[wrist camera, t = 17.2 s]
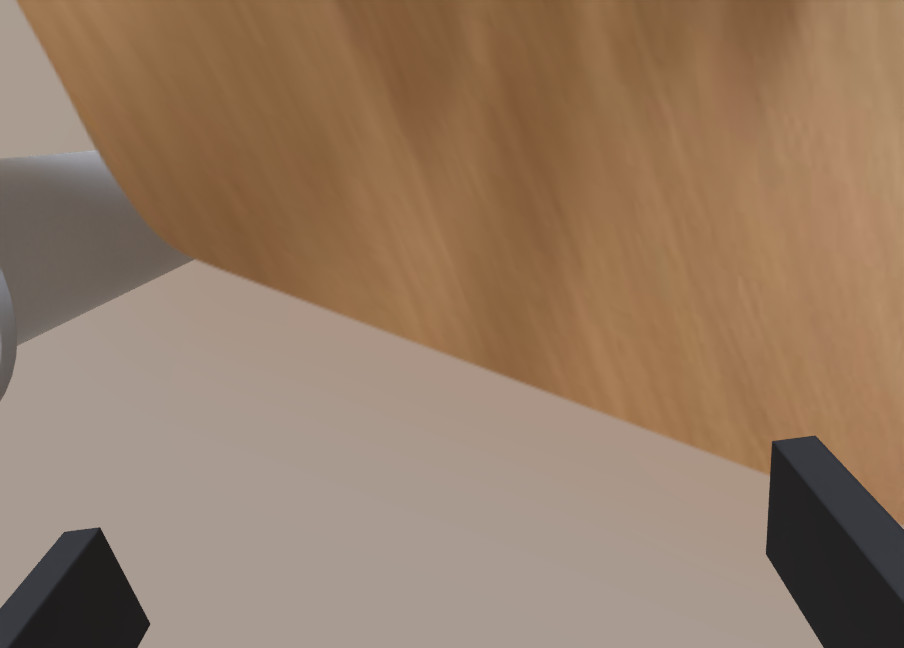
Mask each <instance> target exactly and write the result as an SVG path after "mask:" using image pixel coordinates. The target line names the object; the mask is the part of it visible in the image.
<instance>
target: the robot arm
mask: <svg viewBox="0 0 904 648" xmlns="http://www.w3.org/2000/svg"><path fill="white" fill-rule="evenodd" d="M768 509H769V510H768V527H767V545H766V555H767V556H768V558H769V560H770V561H771V563H772V564H773V566H774V568H775V569H776V571H777V573H778V574H779V576H780V577H781V579H782V581H783V582H784V584H785V586H786V587H787V589H788V590H789V592H790V594H791V595H792V597H793V599H794V600H795V602H796V603H797V605H798V606H799V608H800V610H801V611H802V613H803V615H804V616H805V618H806V620H807V621H808V623H809V624H810V626H811V628H812V629H813V631H814V633H815V634H816V636H817V637H818V639H819V641H820V642H821V644H822V645H823V647H824V648H904V529H903V528H902V527H901V526H900V525H899V524H898V523H897V522H896V521H895V520H894V519H893V518H892V517H891V515H890V514H889V513H888V512H887V511H886V510H885V509H884V508H883V507H882V506H881V505H880V504H879V503H878V502H877V501H876V500H875V498H874V497H873V496H872V495H871V494H870V493H869V492H868V491H867V490H866V489H865V488H864V487H863V486H862V485H861V484H860V483H859V482H858V480H857V479H856V478H855V477H854V476H853V475H852V474H851V473H850V472H849V471H848V470H847V469H846V468H845V467H844V466H843V465H842V463H841V462H840V461H839V460H838V459H837V458H836V457H835V456H834V455H833V454H832V453H831V452H830V451H829V450H828V449H827V448H826V446H825V445H824V444H823V443H822V442H821V441H820V440H819V439H818V438H817V437H816V436H809V437H801V438H794V439H786V440H778V441H772V454H771V472H770V490H769V508H768ZM149 626H150V622H149V620H148V619H147V617H146V615H145V613H144V611H143V609H142V607H141V606H140V603H139V601H138V599H137V597H136V596H135V594H134V592H133V590H132V588H131V586H130V584H129V582H128V580H127V578H126V576H125V575H124V573H123V571H122V569H121V567H120V565H119V563H118V561H117V559H116V557H115V555H114V553H113V552H112V550H111V548H110V546H109V544H108V542H107V540H106V538H105V536H104V534H103V532H102V530H101V528H92V529H84V530H76V531H68V532H64V533H63V534H62V535H61V537H60V538H59V539H58V540H57V541H56V543H55V544H54V545H53V546H52V547H51V549H50V550H49V551H48V552H47V553H46V555H45V556H44V557H43V558H42V559H41V561H40V562H39V563H38V564H37V566H36V567H35V568H34V569H33V570H32V571H31V573H30V574H29V575H28V576H27V577H26V579H25V580H24V581H23V582H22V583H21V584H20V586H19V587H18V588H17V589H16V591H15V592H14V593H13V594H12V596H11V597H10V598H9V599H8V600H7V601H6V603H5V604H4V605H3V606H2V607H1V608H0V648H137V647H138V645H139V644H140V642H141V640H142V638H143V637H144V635H145V633H146V631H147V629H148V627H149Z"/></svg>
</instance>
